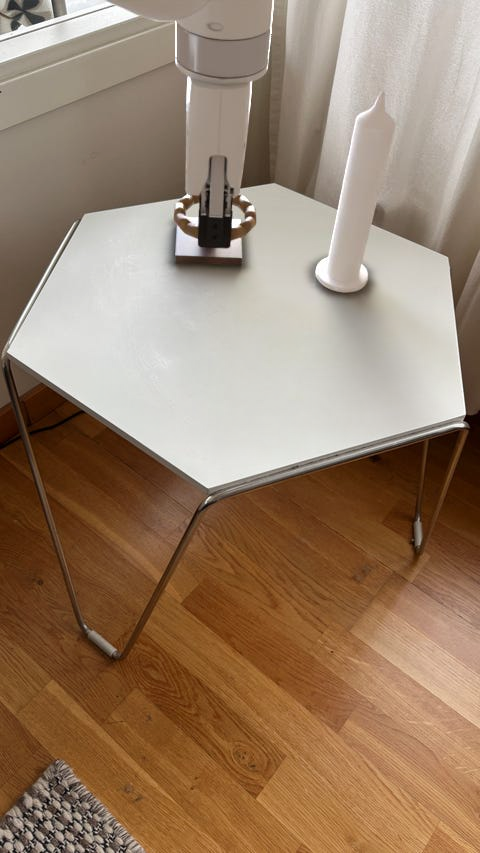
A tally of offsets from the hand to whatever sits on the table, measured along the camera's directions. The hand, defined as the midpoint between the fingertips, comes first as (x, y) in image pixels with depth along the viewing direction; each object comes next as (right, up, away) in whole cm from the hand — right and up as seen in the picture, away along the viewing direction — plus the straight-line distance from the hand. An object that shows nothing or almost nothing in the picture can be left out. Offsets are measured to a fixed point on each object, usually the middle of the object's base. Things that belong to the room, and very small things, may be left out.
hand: (214, 238), depth 71 cm
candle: (+16, +1, +25) cm, 30 cm away
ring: (0, +3, +2) cm, 3 cm away
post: (-2, +7, +28) cm, 29 cm away
